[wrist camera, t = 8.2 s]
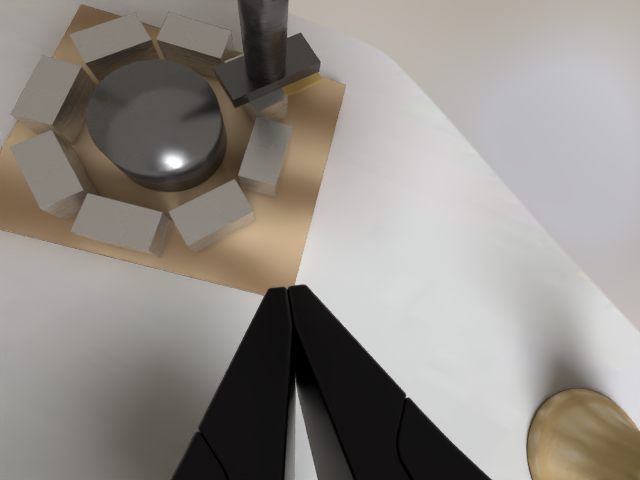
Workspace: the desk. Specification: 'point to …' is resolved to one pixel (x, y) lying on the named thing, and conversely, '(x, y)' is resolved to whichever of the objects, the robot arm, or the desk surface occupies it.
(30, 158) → the block ring with rod
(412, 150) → the desk surface
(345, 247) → the desk surface
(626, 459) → the hand bell
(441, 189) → the desk surface
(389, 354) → the desk surface
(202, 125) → the grey metal puck
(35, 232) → the oak board
